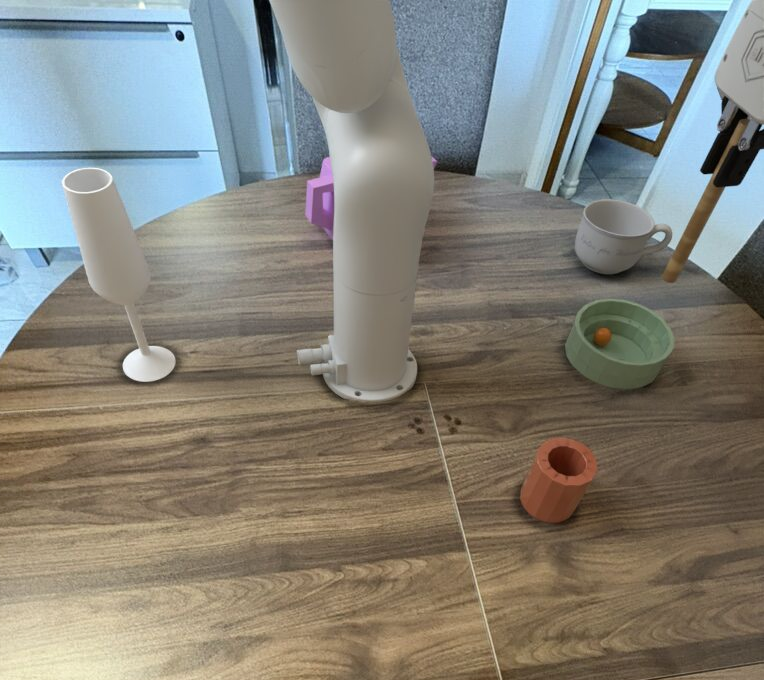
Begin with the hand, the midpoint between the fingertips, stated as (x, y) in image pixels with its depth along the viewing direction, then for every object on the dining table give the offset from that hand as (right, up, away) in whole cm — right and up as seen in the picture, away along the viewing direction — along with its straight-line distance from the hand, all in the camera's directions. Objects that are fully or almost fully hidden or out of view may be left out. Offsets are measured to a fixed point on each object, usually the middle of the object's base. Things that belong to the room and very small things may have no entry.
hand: (719, 177), depth 66 cm
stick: (-1, -7, +11) cm, 13 cm away
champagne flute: (-67, -17, +15) cm, 70 cm away
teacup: (+1, +4, +33) cm, 33 cm away
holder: (-17, -35, +6) cm, 39 cm away
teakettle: (-38, +10, +35) cm, 53 cm away
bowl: (-4, -14, +21) cm, 25 cm away
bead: (-5, -11, +20) cm, 24 cm away
